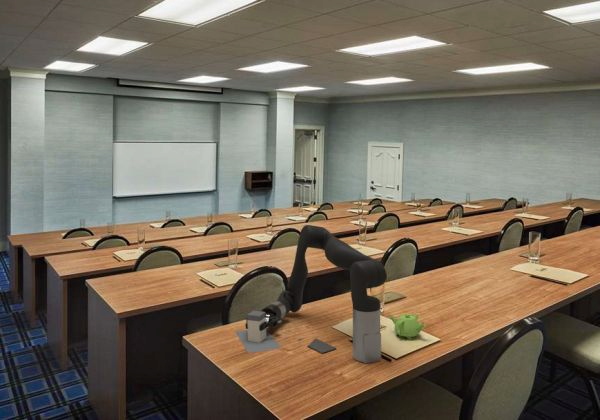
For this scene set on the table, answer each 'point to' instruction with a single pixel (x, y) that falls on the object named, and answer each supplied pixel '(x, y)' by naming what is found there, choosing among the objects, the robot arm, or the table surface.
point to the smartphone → (320, 346)
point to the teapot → (407, 325)
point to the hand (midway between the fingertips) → (253, 327)
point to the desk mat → (252, 347)
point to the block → (256, 326)
